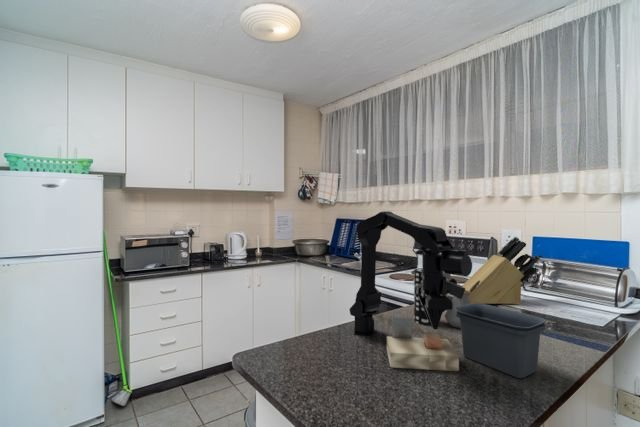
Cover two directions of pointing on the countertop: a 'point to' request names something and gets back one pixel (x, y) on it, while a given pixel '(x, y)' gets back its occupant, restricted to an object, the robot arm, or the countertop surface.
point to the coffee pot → (457, 302)
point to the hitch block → (421, 355)
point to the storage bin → (501, 338)
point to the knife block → (502, 276)
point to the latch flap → (401, 327)
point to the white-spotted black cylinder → (418, 308)
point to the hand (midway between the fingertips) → (432, 325)
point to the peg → (432, 341)
